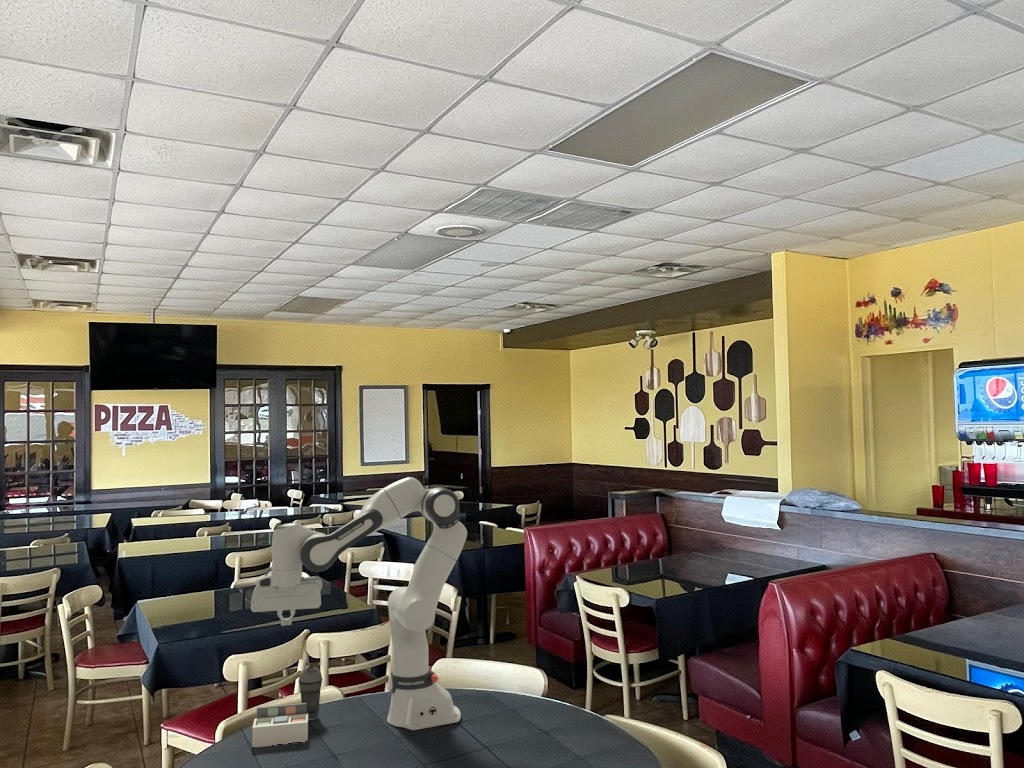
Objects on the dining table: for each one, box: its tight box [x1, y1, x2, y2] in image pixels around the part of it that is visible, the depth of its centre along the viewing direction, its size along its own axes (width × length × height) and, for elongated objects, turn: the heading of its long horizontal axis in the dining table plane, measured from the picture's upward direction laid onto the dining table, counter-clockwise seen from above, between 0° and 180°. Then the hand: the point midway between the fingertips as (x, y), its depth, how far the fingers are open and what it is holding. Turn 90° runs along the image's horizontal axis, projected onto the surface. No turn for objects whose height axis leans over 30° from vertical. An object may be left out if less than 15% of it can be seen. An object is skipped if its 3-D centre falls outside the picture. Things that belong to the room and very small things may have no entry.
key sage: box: [257, 722, 270, 725], centre depth 218 cm, size 4×4×2 cm
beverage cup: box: [298, 651, 323, 720], centre depth 236 cm, size 7×7×20 cm
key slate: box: [274, 716, 288, 724], centre depth 219 cm, size 4×4×2 cm
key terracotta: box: [292, 718, 305, 722], centre depth 220 cm, size 4×4×2 cm
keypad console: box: [251, 702, 309, 748], centre depth 220 cm, size 15×9×8 cm, turn 104°
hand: (286, 624), depth 227 cm, fingers closed
